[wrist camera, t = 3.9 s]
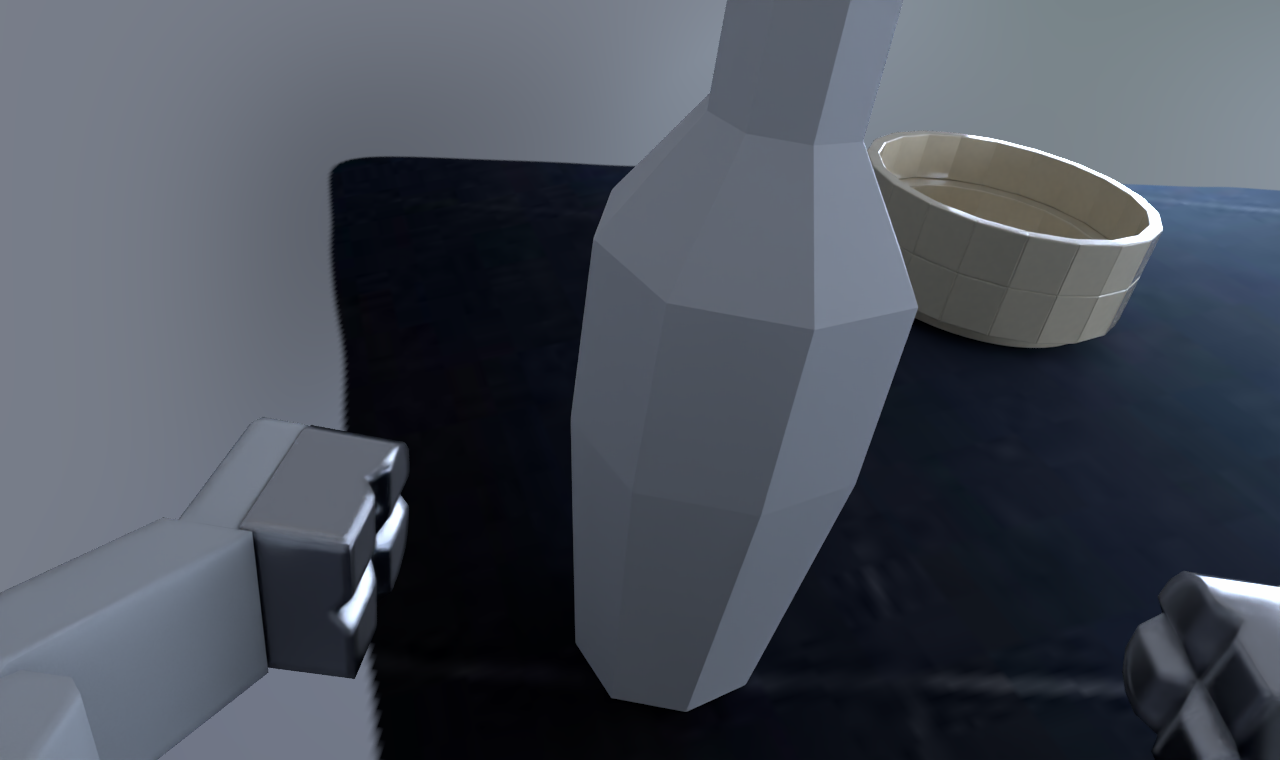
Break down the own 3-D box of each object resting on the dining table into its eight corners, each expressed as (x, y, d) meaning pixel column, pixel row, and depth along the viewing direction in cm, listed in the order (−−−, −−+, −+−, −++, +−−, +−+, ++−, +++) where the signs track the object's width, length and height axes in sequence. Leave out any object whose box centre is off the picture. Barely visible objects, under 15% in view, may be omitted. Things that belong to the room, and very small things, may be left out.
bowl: (854, 331, 39) (892, 213, 36) (825, 212, 50) (852, 114, 47) (1154, 380, 40) (1215, 267, 37) (1059, 251, 51) (1100, 156, 48)
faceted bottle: (819, 728, 22) (1317, -498, 10) (560, 758, 20) (786, -667, 8) (740, 543, 27) (1008, -421, 15) (527, 555, 26) (638, -517, 13)
